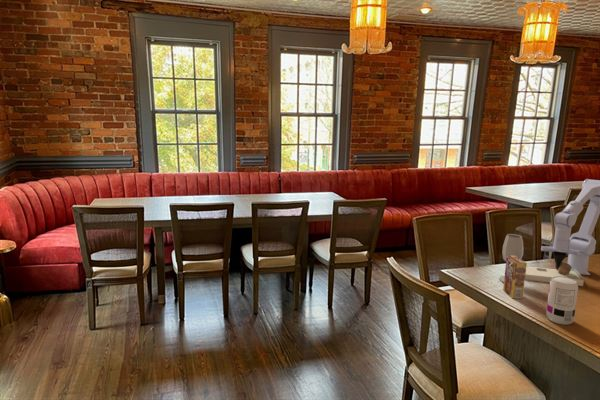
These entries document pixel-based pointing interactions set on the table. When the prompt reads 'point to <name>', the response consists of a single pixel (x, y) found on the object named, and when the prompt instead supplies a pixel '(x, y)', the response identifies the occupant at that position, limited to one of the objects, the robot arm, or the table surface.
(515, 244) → the wineglass
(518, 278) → the candy box
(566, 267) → the block
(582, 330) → the table surface
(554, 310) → the supplement can
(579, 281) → the beige flat block
